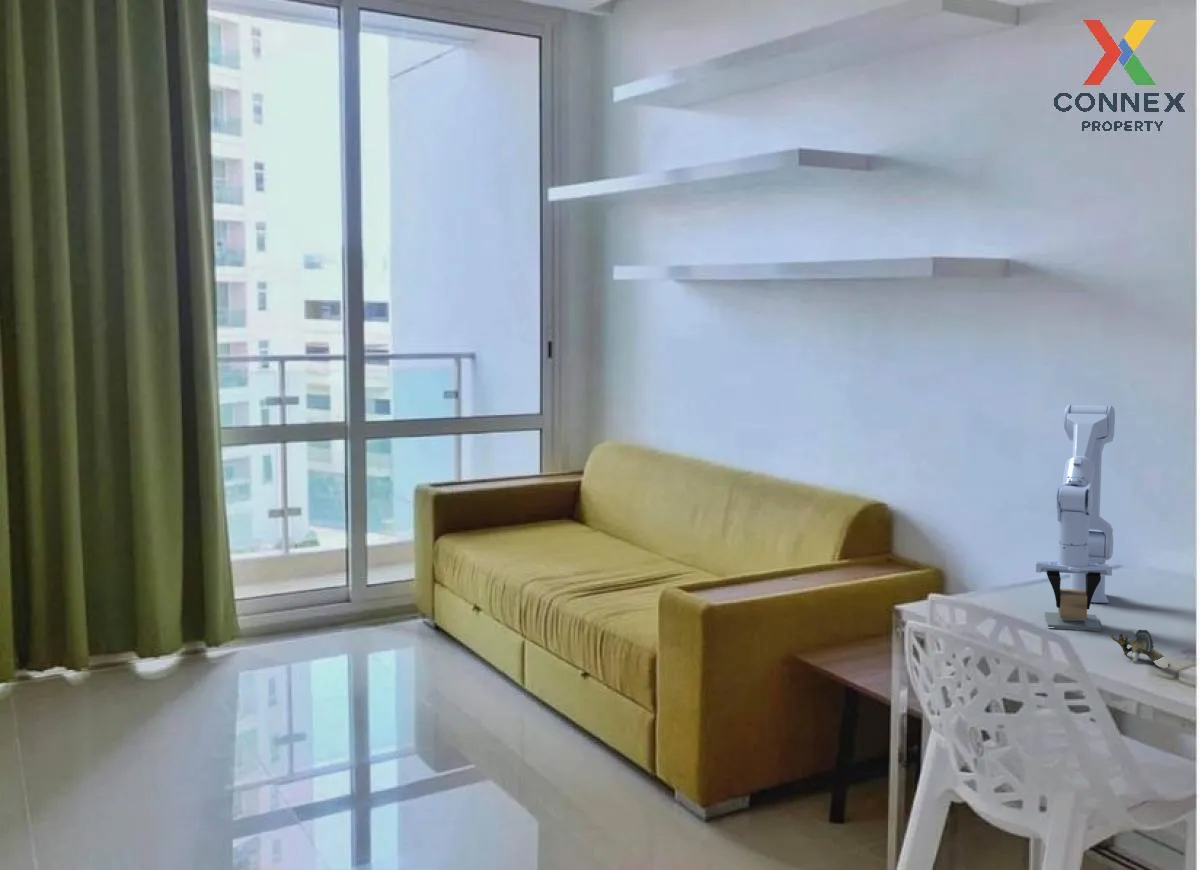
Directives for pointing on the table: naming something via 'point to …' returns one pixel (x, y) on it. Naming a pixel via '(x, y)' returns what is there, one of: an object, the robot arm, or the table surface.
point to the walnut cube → (1073, 604)
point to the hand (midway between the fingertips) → (1072, 607)
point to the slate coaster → (1072, 622)
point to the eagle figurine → (1138, 645)
